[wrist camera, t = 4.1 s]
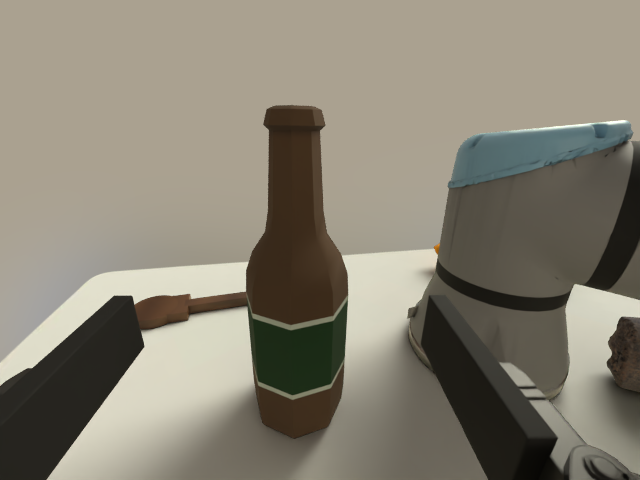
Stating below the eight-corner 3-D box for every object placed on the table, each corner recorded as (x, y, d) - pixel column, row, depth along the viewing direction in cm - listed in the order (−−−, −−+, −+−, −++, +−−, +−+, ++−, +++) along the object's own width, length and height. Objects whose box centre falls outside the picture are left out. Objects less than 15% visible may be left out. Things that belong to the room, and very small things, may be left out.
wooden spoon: (287, 285, 46) (287, 278, 45) (295, 306, 41) (295, 298, 40) (136, 306, 40) (134, 298, 40) (124, 332, 35) (122, 324, 35)
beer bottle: (340, 367, 30) (353, 109, 22) (344, 444, 23) (365, 104, 14) (264, 365, 31) (246, 108, 22) (243, 440, 23) (205, 101, 15)
